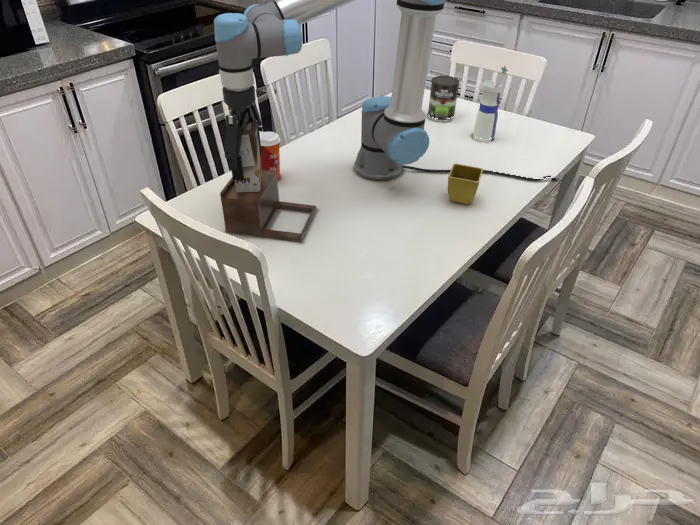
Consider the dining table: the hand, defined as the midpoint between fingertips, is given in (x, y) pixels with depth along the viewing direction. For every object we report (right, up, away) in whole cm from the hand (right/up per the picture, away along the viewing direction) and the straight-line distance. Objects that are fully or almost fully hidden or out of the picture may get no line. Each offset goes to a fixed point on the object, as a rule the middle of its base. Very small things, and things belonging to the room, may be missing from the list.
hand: (247, 166), depth 139 cm
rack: (+5, -13, +9) cm, 17 cm away
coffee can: (+62, +31, +67) cm, 97 cm away
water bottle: (+74, +20, +53) cm, 94 cm away
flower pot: (+60, -6, +19) cm, 63 cm away
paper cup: (+2, +1, +28) cm, 28 cm away
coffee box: (0, -4, +3) cm, 5 cm away
